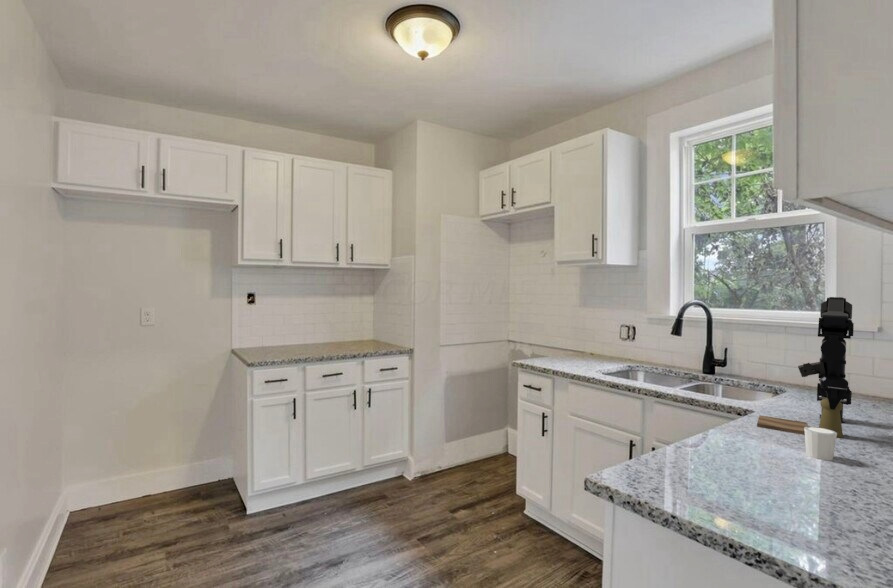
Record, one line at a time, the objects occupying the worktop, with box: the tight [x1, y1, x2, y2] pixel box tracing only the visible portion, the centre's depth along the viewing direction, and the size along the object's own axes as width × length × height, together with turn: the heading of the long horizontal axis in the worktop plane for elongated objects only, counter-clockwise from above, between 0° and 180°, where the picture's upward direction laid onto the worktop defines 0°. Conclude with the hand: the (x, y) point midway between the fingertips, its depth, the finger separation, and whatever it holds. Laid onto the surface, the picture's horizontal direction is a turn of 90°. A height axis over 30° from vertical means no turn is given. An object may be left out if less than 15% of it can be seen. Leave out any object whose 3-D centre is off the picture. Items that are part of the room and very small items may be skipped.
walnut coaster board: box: [756, 415, 809, 436], centre depth 152 cm, size 13×13×1 cm
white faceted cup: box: [804, 426, 837, 461], centre depth 124 cm, size 7×7×7 cm
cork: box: [818, 397, 844, 439], centre depth 144 cm, size 6×6×11 cm
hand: (831, 406), depth 144 cm, fingers open, 9 cm apart
